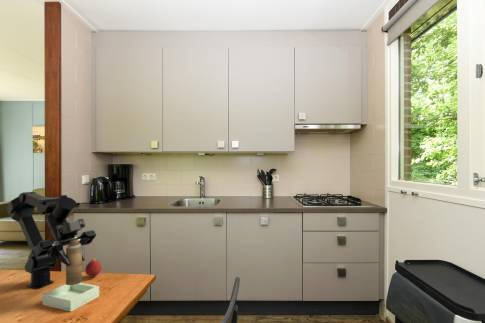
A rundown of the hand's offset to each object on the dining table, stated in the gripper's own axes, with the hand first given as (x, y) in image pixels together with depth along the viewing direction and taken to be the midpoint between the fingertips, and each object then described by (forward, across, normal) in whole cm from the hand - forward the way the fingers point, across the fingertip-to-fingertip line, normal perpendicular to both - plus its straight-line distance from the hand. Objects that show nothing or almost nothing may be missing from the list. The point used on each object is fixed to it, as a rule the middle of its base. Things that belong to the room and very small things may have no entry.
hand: (76, 262), depth 96 cm
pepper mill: (+4, 0, +6) cm, 7 cm away
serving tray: (+8, -1, +10) cm, 13 cm away
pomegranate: (0, +14, +19) cm, 24 cm away
